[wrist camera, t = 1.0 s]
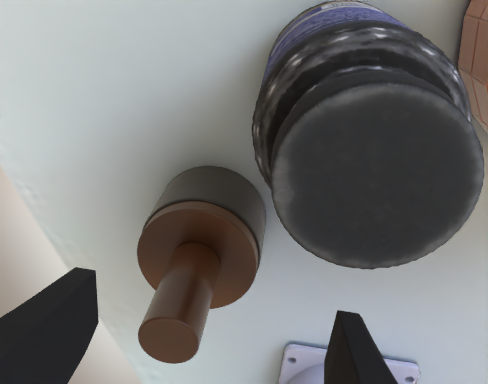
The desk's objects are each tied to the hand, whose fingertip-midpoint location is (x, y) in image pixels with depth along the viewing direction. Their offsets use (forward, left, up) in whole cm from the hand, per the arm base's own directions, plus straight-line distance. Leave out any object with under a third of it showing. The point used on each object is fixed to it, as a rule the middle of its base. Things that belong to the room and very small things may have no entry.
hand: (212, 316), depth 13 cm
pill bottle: (+5, -3, -11) cm, 12 cm away
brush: (-3, +2, -10) cm, 11 cm away
